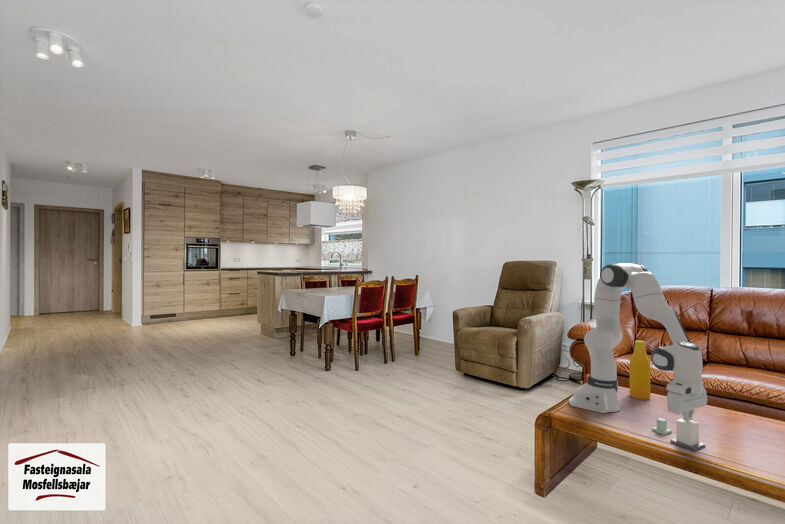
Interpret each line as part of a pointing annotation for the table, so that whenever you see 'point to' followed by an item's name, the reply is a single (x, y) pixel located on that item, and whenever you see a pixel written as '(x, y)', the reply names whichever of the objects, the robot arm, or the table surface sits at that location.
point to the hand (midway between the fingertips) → (687, 420)
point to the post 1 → (662, 427)
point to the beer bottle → (640, 372)
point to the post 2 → (693, 448)
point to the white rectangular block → (687, 432)
